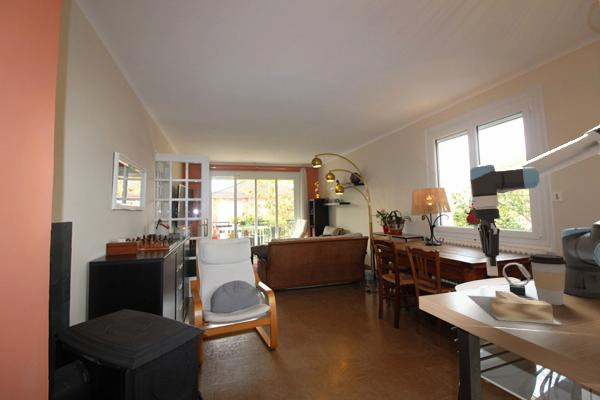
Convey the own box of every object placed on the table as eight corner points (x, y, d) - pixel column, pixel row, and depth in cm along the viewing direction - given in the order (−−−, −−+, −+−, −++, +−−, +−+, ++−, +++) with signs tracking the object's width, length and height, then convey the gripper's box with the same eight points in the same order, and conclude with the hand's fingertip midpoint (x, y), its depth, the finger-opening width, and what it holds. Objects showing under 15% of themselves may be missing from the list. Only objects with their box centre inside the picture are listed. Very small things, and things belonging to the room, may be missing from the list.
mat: (520, 299, 92) (520, 298, 92) (568, 326, 69) (568, 325, 69) (467, 296, 97) (467, 295, 97) (495, 321, 74) (495, 320, 74)
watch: (533, 298, 93) (530, 265, 94) (503, 294, 98) (501, 263, 99) (531, 294, 98) (529, 263, 99) (504, 290, 103) (502, 261, 103)
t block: (527, 305, 85) (526, 292, 85) (553, 320, 73) (552, 305, 73) (480, 302, 89) (479, 290, 89) (496, 316, 76) (495, 302, 76)
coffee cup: (579, 307, 83) (575, 257, 84) (548, 307, 84) (544, 258, 84) (551, 298, 93) (548, 253, 94) (523, 298, 93) (520, 254, 94)
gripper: (468, 209, 105) (474, 271, 103) (480, 208, 93) (487, 279, 91) (490, 208, 103) (497, 271, 101) (506, 207, 91) (514, 279, 89)
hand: (492, 275), depth 96 cm, fingers closed
